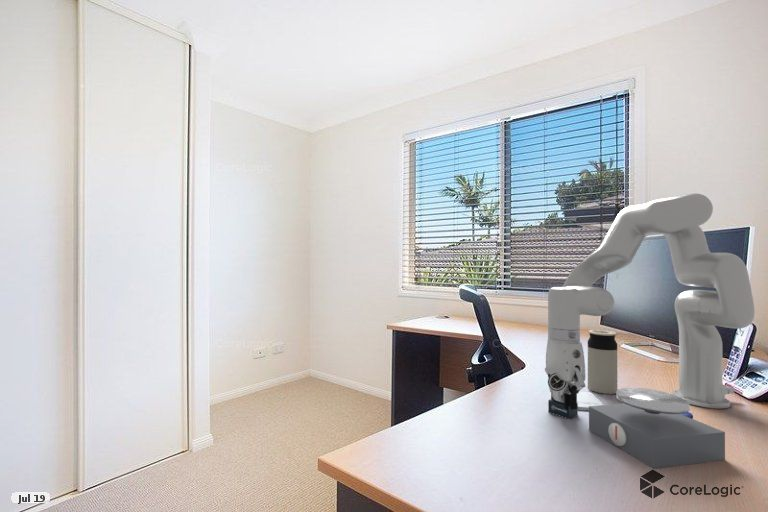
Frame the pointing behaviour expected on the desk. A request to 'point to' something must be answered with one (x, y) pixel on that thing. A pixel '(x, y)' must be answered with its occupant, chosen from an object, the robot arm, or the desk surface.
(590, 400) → the external hard drive
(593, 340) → the travel mug
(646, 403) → the scale pan
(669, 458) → the scale
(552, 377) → the watch
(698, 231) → the robot arm
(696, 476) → the desk surface
